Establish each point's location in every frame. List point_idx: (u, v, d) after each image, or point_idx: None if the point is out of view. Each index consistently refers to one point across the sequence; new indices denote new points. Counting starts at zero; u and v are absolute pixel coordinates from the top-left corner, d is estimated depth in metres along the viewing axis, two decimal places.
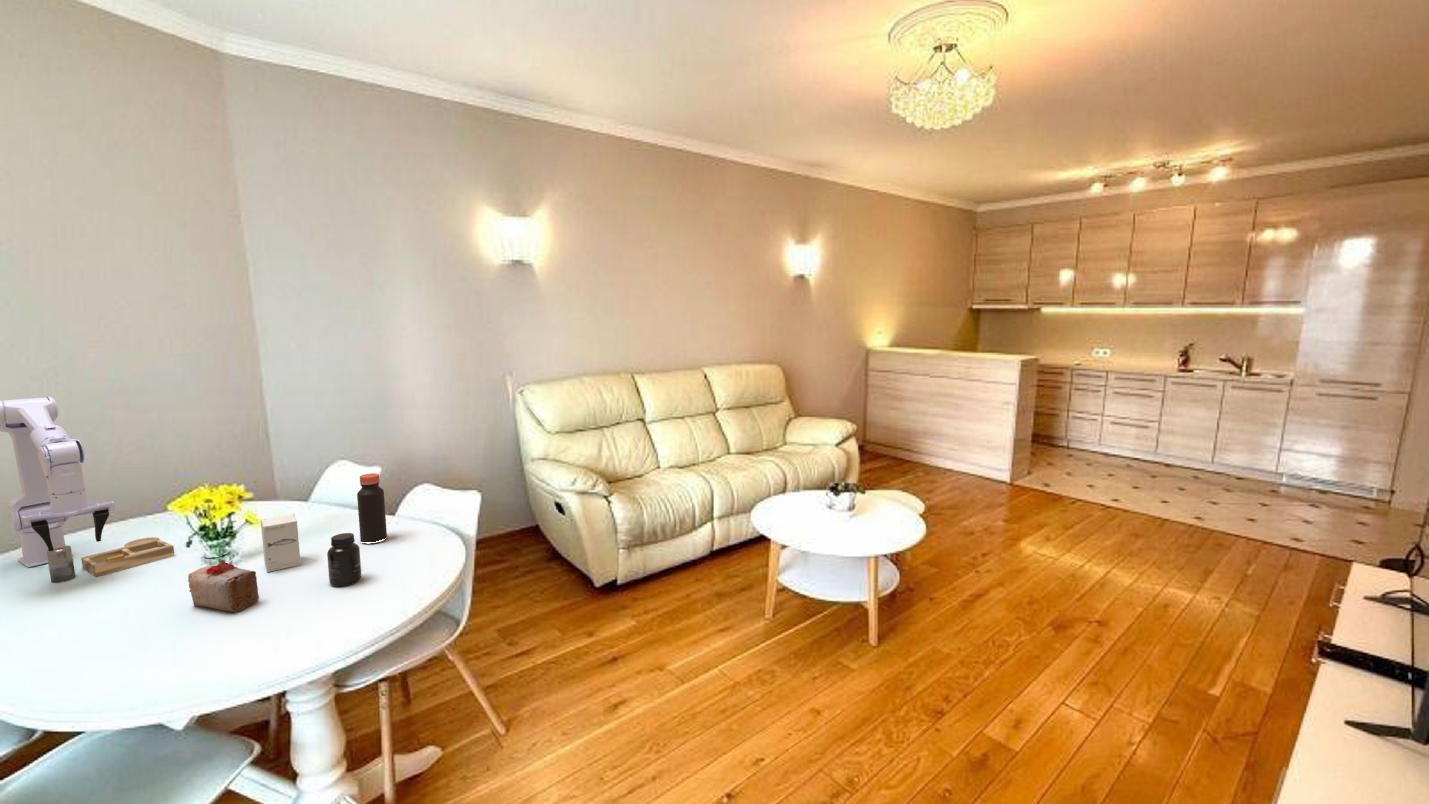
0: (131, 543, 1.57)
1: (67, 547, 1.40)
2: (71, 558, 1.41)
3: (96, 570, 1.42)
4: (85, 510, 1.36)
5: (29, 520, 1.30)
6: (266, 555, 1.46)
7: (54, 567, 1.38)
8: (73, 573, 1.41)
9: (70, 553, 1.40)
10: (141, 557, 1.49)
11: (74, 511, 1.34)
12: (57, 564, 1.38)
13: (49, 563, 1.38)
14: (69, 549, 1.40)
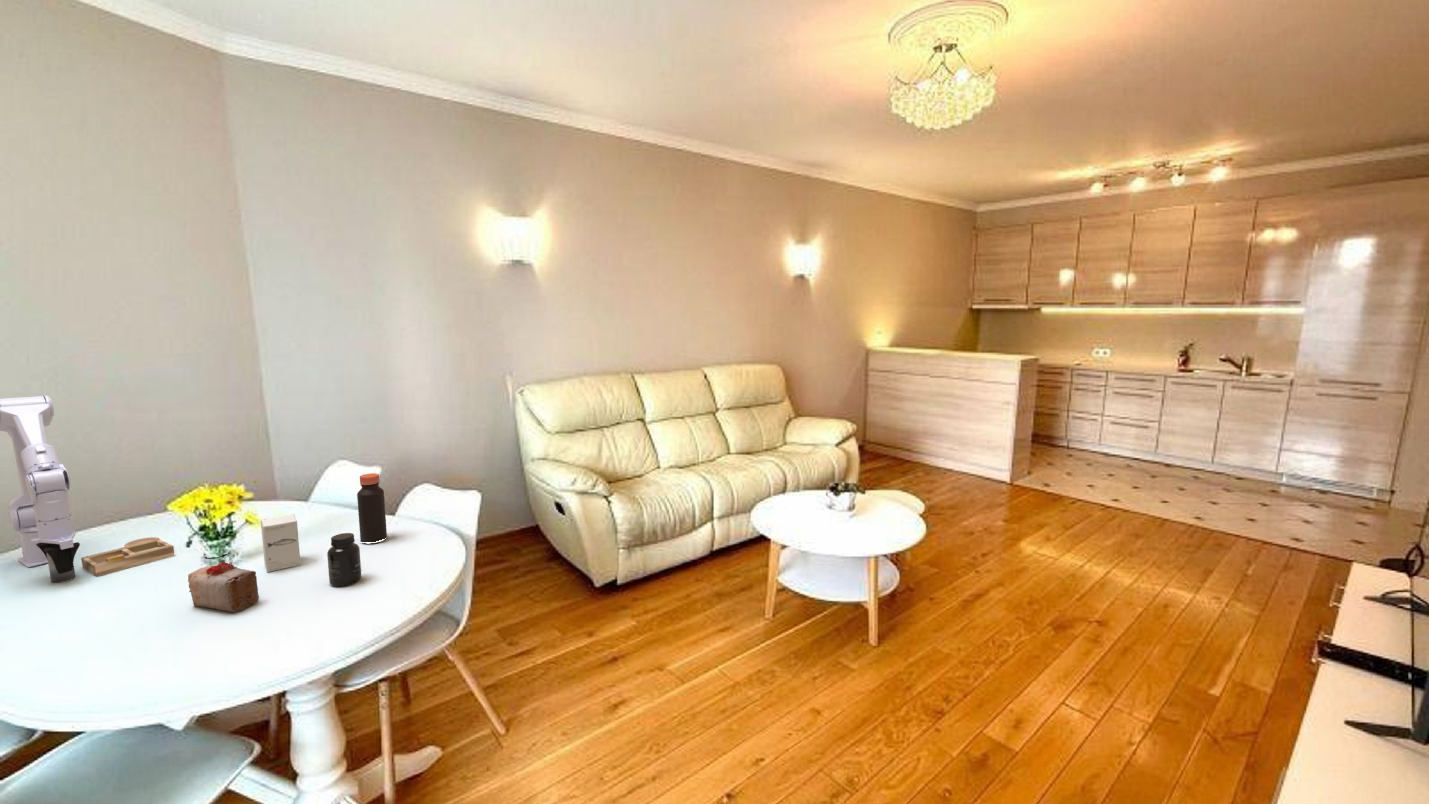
0: (131, 543, 1.57)
1: None
2: None
3: (96, 570, 1.42)
4: (44, 541, 1.36)
5: None
6: (266, 555, 1.46)
7: (54, 567, 1.38)
8: (73, 573, 1.41)
9: None
10: (141, 557, 1.49)
11: (36, 539, 1.36)
12: None
13: (49, 563, 1.38)
14: None
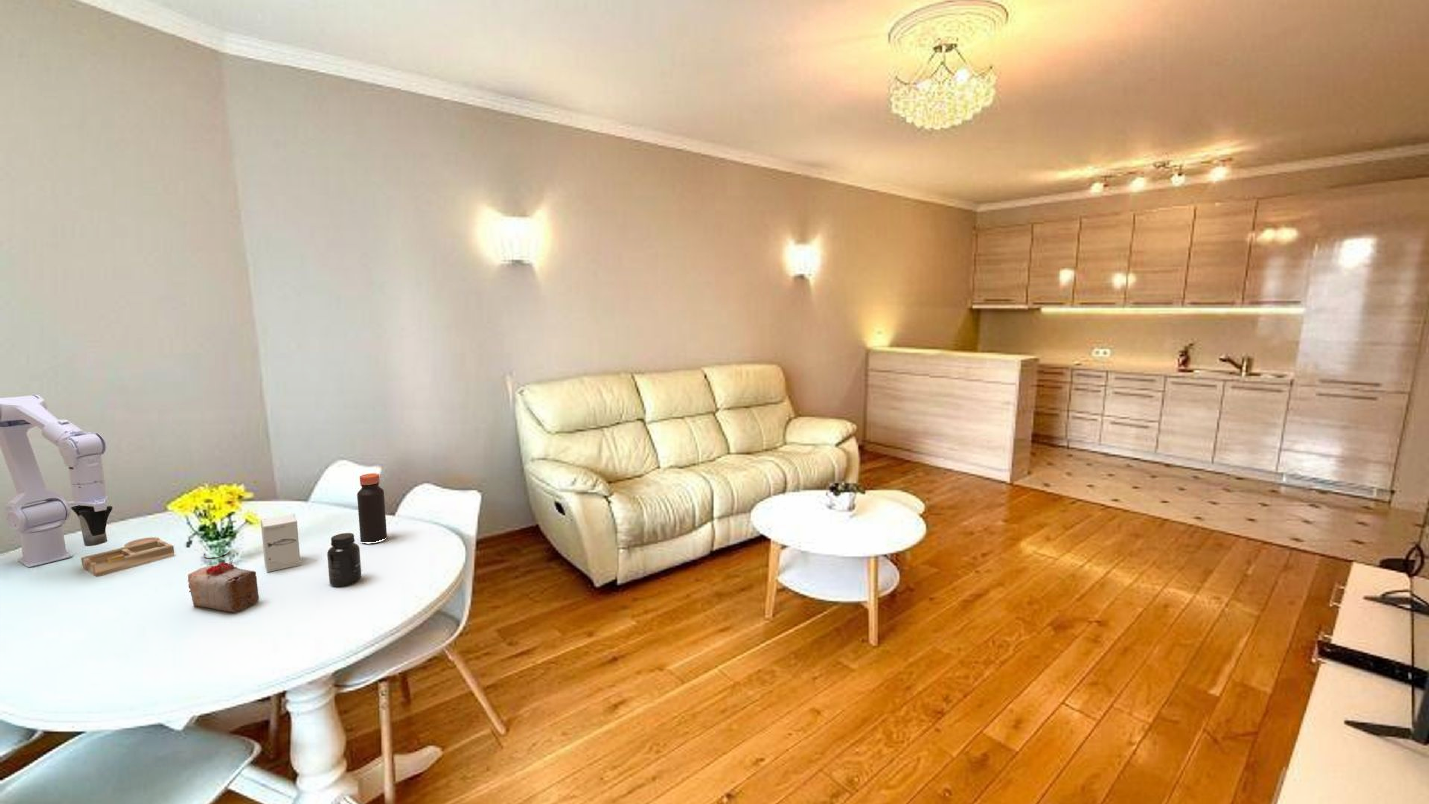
0: (131, 543, 1.57)
1: None
2: None
3: (96, 570, 1.42)
4: (79, 503, 1.40)
5: None
6: (266, 555, 1.46)
7: (87, 531, 1.42)
8: (105, 537, 1.45)
9: None
10: (141, 557, 1.49)
11: (71, 502, 1.40)
12: None
13: (82, 527, 1.42)
14: None
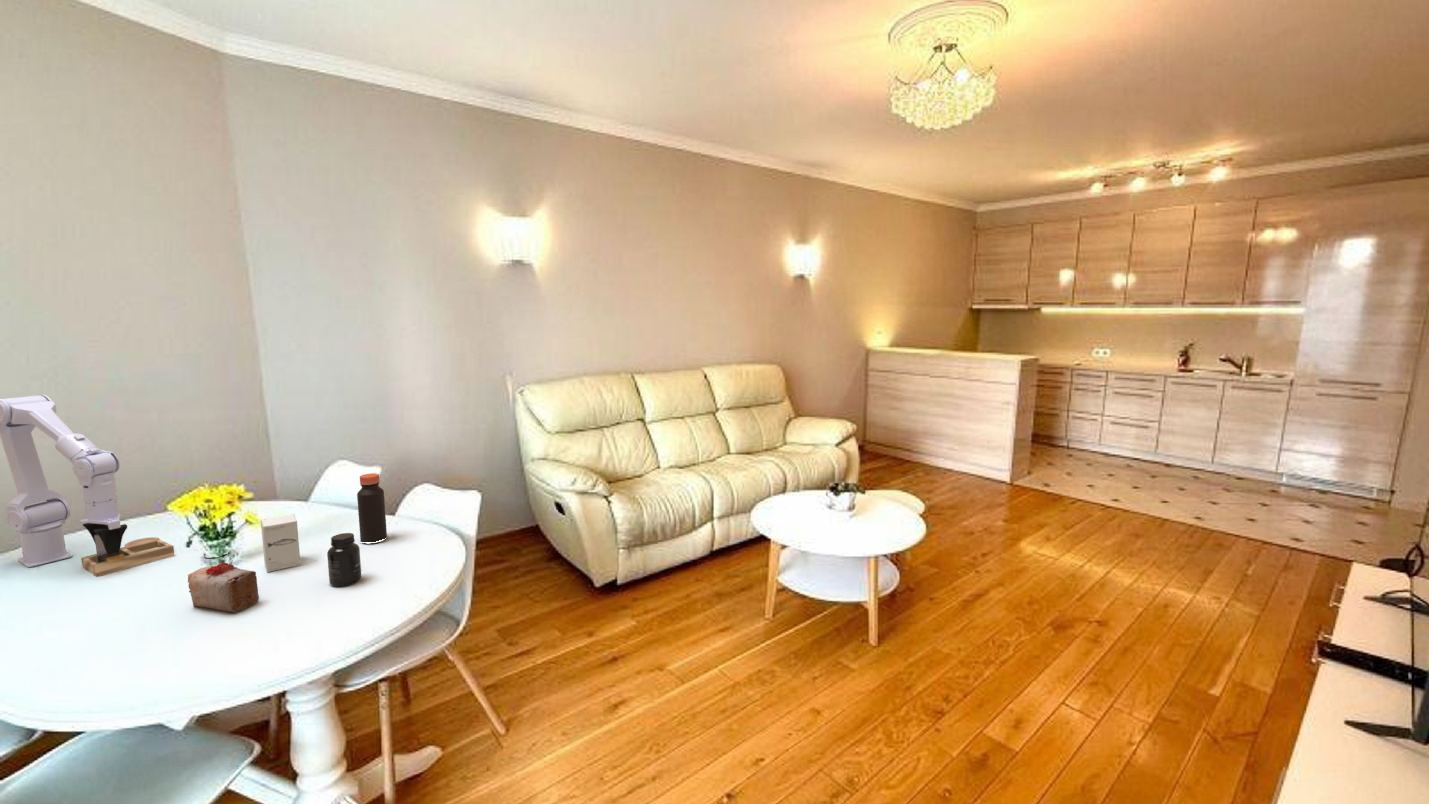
0: (131, 543, 1.57)
1: None
2: None
3: (96, 570, 1.42)
4: (93, 522, 1.43)
5: None
6: (266, 555, 1.46)
7: (102, 551, 1.45)
8: None
9: None
10: (141, 557, 1.49)
11: (85, 520, 1.43)
12: (104, 548, 1.45)
13: (97, 547, 1.45)
14: None
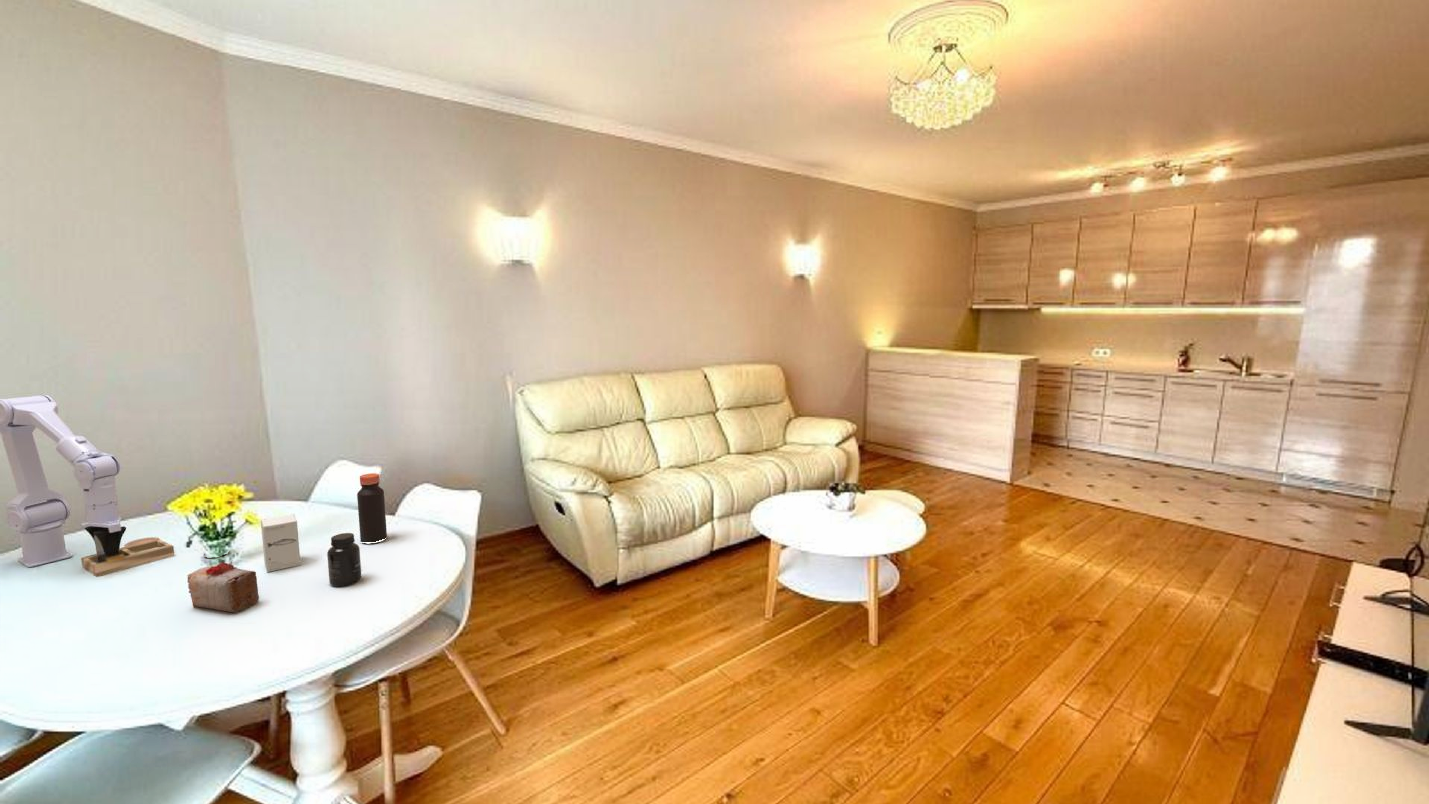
0: (131, 543, 1.57)
1: None
2: None
3: (96, 570, 1.42)
4: (94, 525, 1.43)
5: None
6: (266, 555, 1.46)
7: (102, 551, 1.45)
8: None
9: None
10: (141, 557, 1.49)
11: (86, 523, 1.43)
12: None
13: (96, 547, 1.45)
14: None
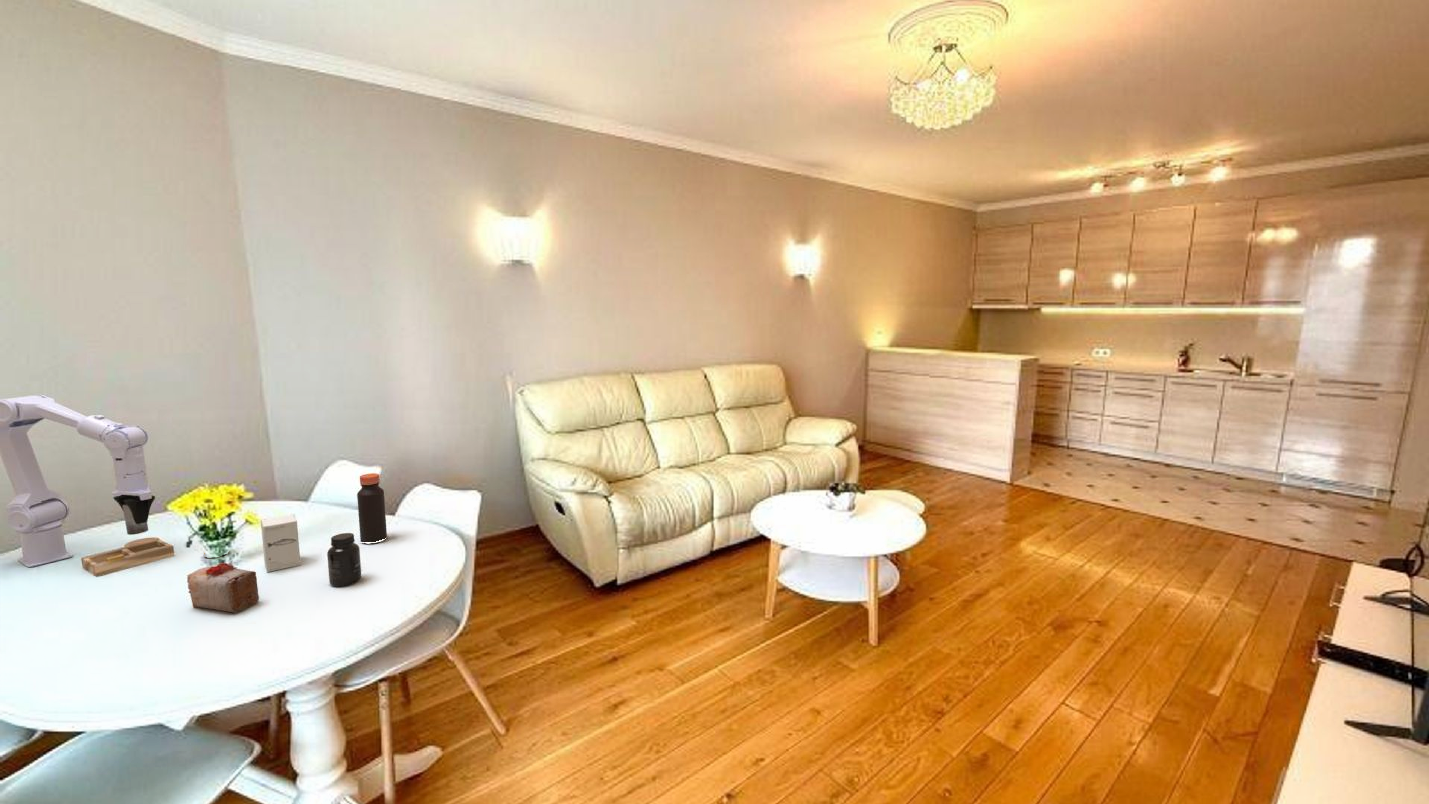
0: (131, 543, 1.57)
1: None
2: None
3: (96, 570, 1.42)
4: (124, 493, 1.47)
5: None
6: (266, 555, 1.46)
7: (131, 520, 1.49)
8: (146, 526, 1.52)
9: None
10: (141, 557, 1.49)
11: (116, 492, 1.47)
12: None
13: (126, 516, 1.49)
14: None
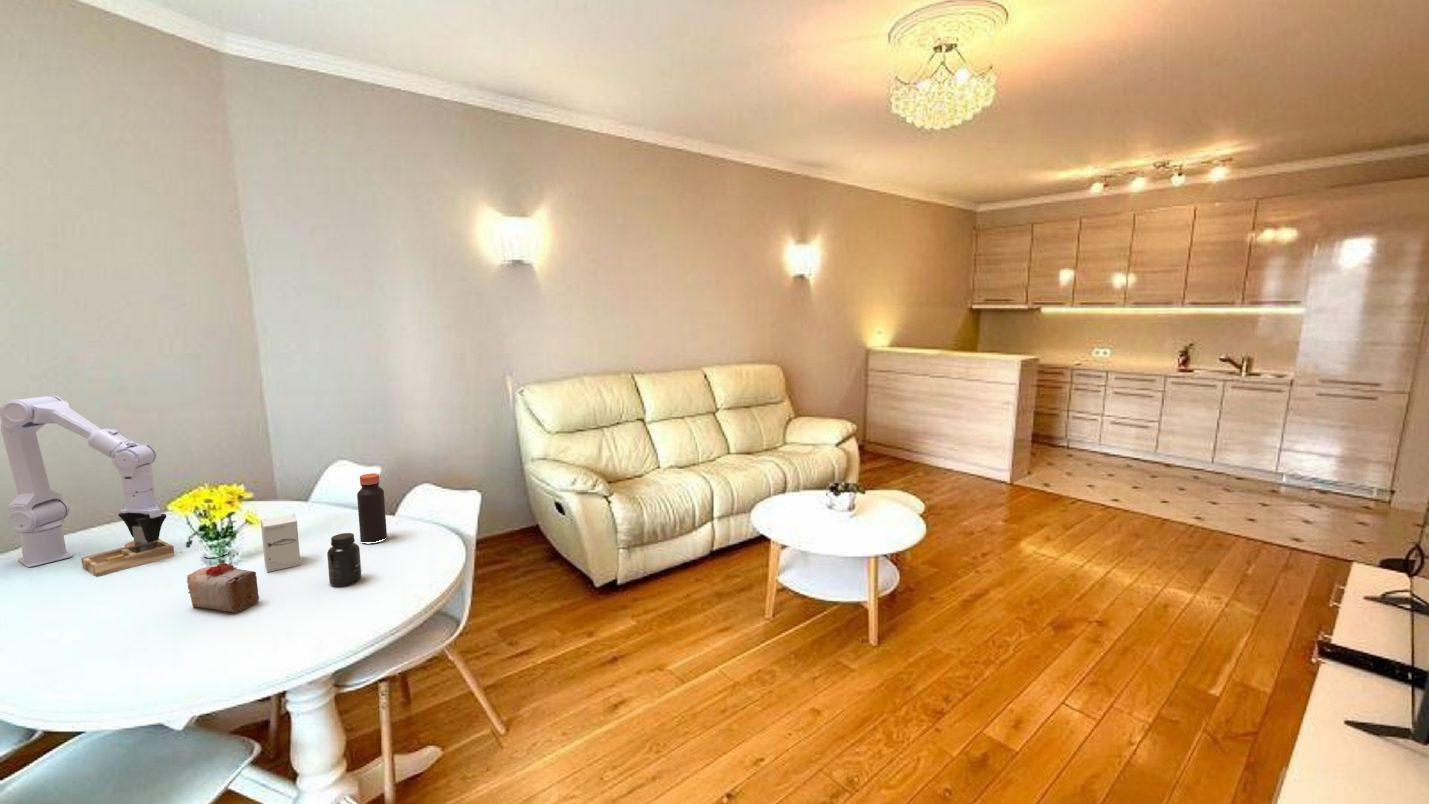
0: (131, 543, 1.57)
1: None
2: None
3: (96, 570, 1.42)
4: (133, 511, 1.49)
5: (124, 506, 1.54)
6: (266, 555, 1.46)
7: (140, 541, 1.51)
8: (155, 547, 1.55)
9: None
10: (141, 557, 1.49)
11: (125, 510, 1.49)
12: (143, 539, 1.52)
13: (135, 538, 1.51)
14: None
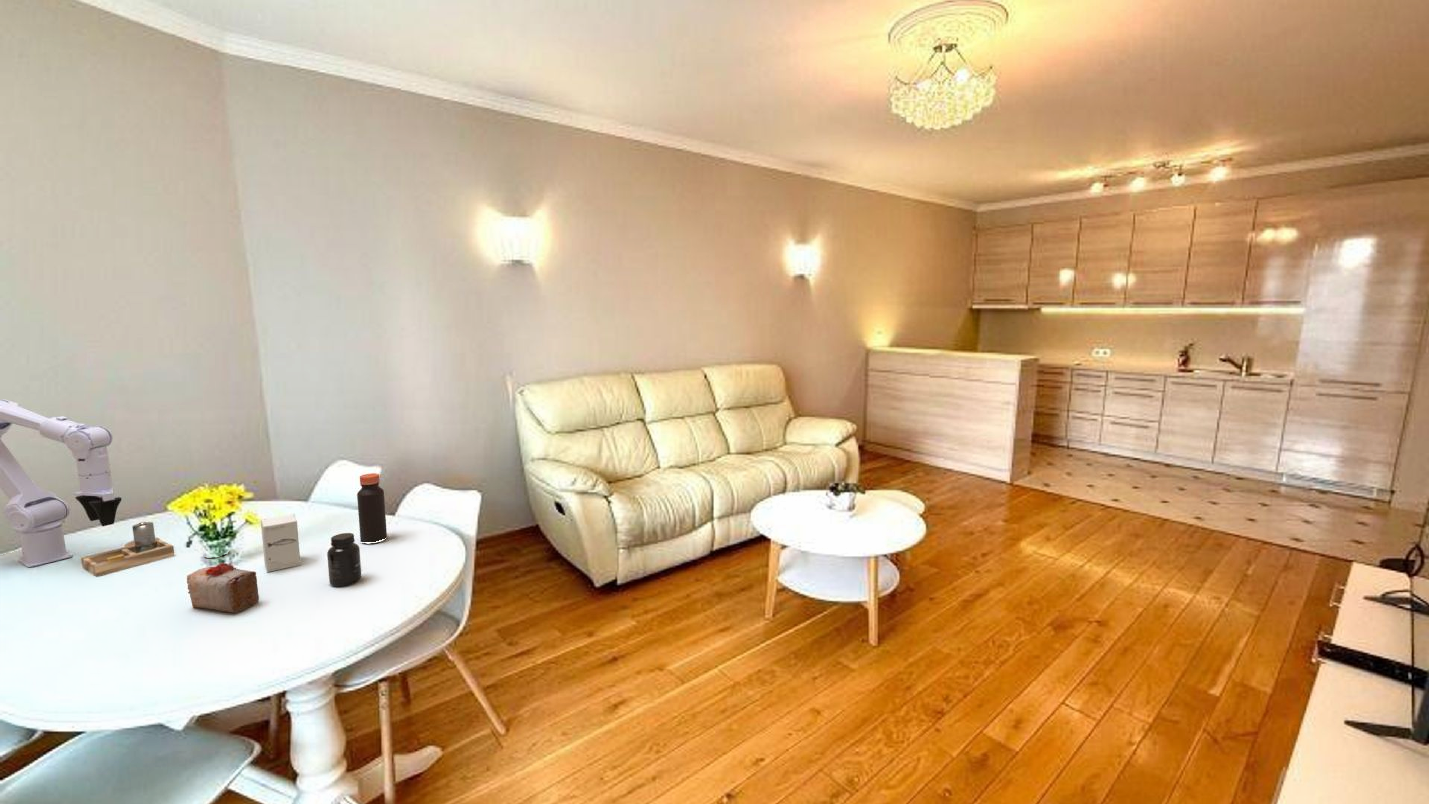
0: (131, 543, 1.57)
1: (150, 523, 1.54)
2: (154, 533, 1.54)
3: (96, 570, 1.42)
4: (87, 494, 1.46)
5: None
6: (266, 555, 1.46)
7: (140, 541, 1.51)
8: (155, 547, 1.55)
9: (153, 528, 1.54)
10: (141, 557, 1.49)
11: (79, 492, 1.46)
12: (143, 539, 1.52)
13: (135, 538, 1.51)
14: (152, 525, 1.54)
